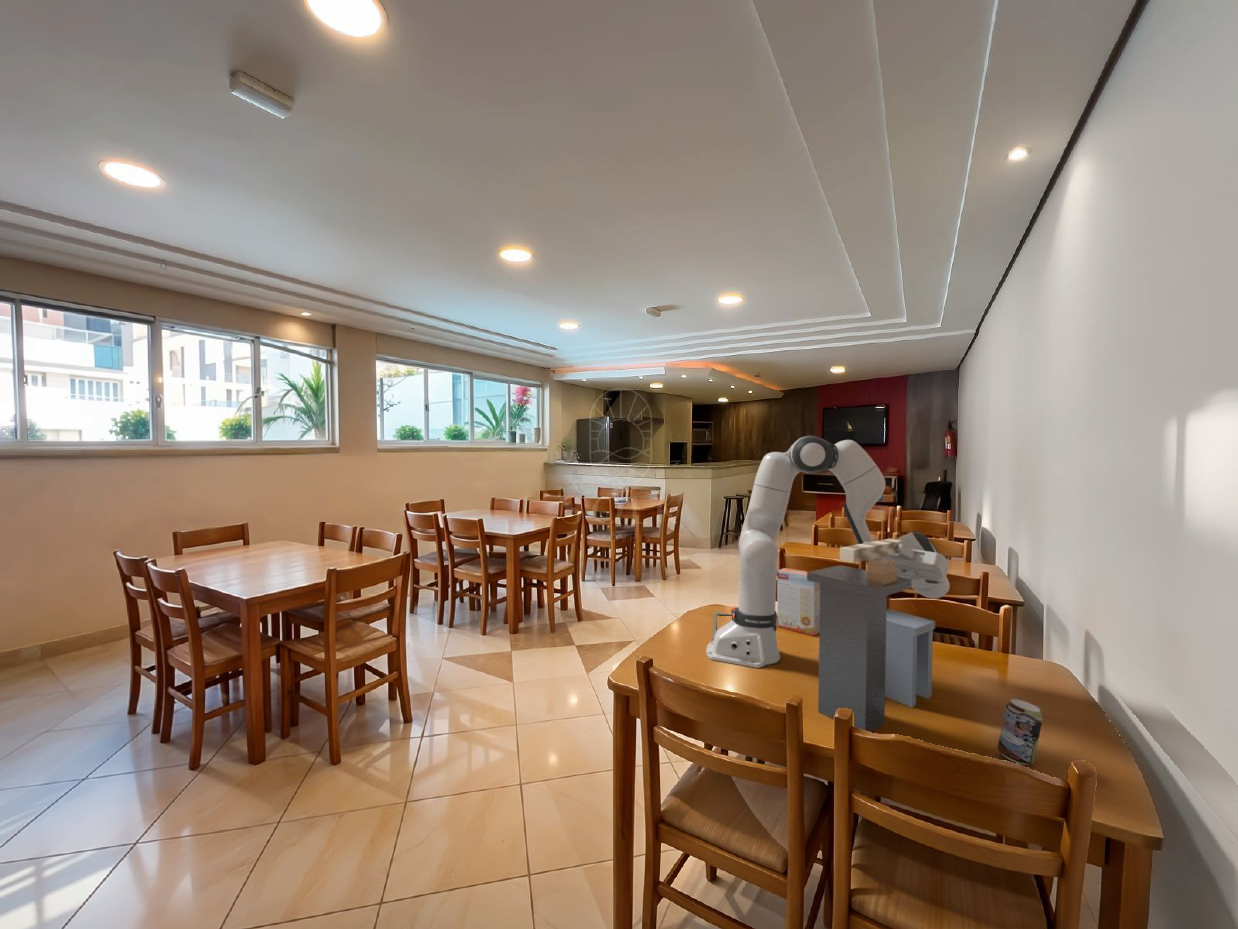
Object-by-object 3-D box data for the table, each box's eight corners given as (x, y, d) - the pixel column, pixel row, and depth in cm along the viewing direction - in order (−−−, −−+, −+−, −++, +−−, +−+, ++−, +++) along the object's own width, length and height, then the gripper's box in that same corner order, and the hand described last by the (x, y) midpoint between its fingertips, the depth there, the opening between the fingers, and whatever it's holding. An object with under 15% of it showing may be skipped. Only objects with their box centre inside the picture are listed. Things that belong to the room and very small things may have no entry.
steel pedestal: (838, 693, 135) (840, 546, 134) (908, 723, 121) (911, 558, 119) (805, 708, 128) (807, 551, 126) (875, 742, 113) (878, 565, 112)
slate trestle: (887, 680, 143) (888, 609, 143) (933, 697, 133) (935, 621, 133) (867, 689, 138) (868, 615, 137) (913, 708, 128) (915, 628, 127)
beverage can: (990, 752, 109) (991, 696, 109) (1022, 750, 110) (1023, 695, 110) (1015, 770, 103) (1016, 711, 103) (1049, 768, 104) (1050, 710, 103)
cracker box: (821, 632, 181) (822, 573, 180) (813, 637, 176) (814, 576, 176) (784, 622, 191) (785, 566, 190) (776, 626, 186) (777, 569, 186)
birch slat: (889, 550, 134) (889, 538, 134) (903, 552, 131) (903, 540, 131) (839, 560, 122) (839, 547, 122) (853, 563, 119) (853, 550, 119)
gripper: (877, 549, 147) (853, 528, 140) (956, 562, 130) (933, 539, 123) (871, 569, 145) (846, 550, 138) (950, 585, 128) (927, 564, 121)
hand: (888, 545), depth 130 cm, fingers closed on birch slat, 3 cm apart
